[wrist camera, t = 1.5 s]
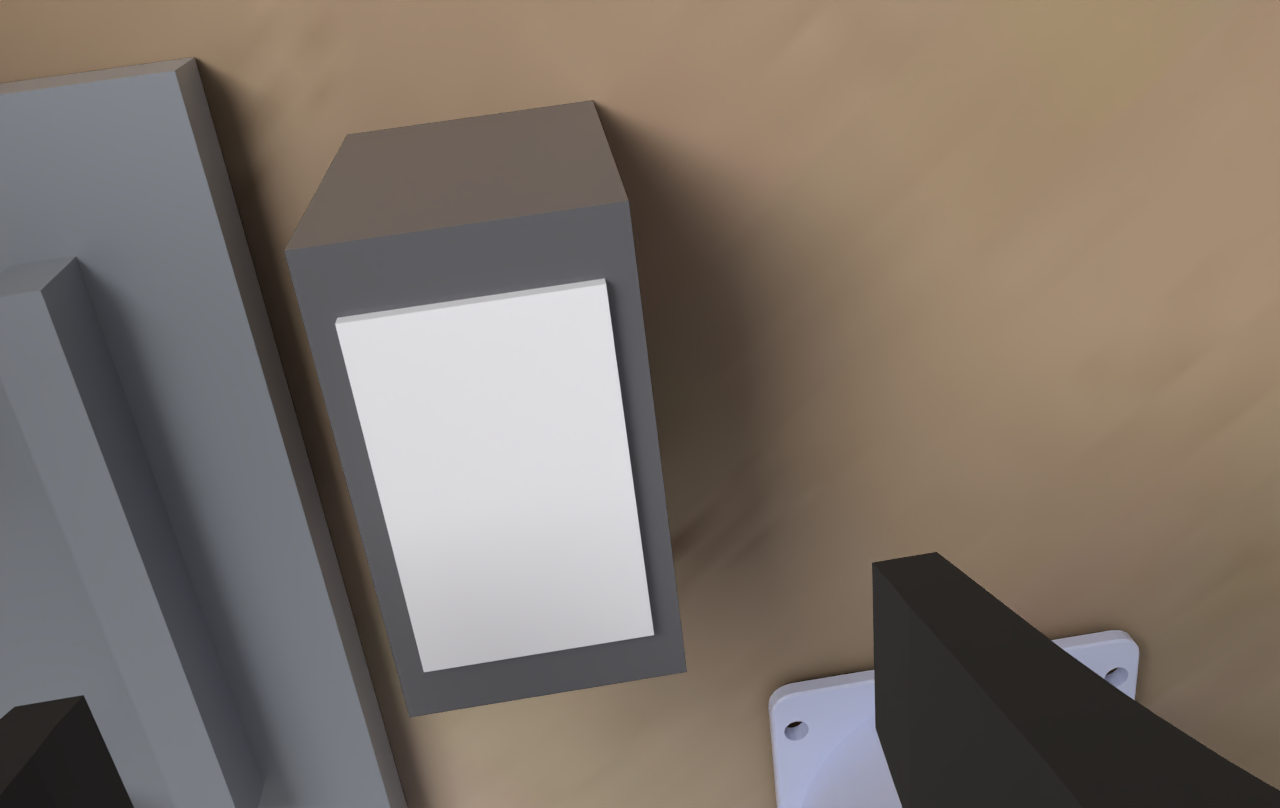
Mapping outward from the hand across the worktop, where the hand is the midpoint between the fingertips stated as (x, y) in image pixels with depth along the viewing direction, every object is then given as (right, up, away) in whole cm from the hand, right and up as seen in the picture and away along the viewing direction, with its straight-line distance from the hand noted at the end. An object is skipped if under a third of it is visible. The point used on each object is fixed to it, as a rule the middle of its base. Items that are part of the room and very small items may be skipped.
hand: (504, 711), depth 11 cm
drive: (-1, +4, +9) cm, 11 cm away
